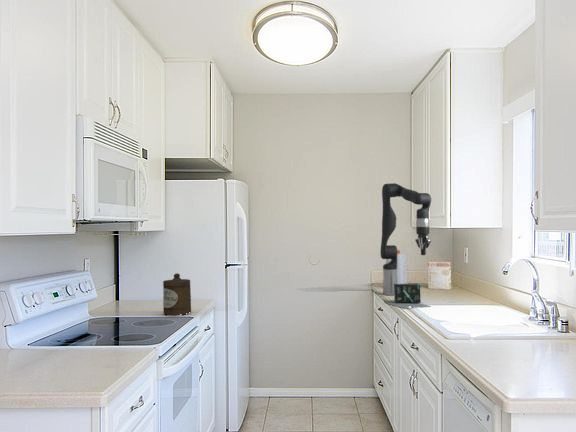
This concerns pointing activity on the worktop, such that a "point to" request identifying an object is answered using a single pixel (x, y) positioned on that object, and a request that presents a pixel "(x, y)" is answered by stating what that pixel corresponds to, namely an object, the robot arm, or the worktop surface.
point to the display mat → (406, 305)
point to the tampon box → (407, 293)
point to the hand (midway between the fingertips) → (423, 255)
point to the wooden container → (176, 296)
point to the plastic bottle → (400, 268)
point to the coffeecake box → (439, 275)
